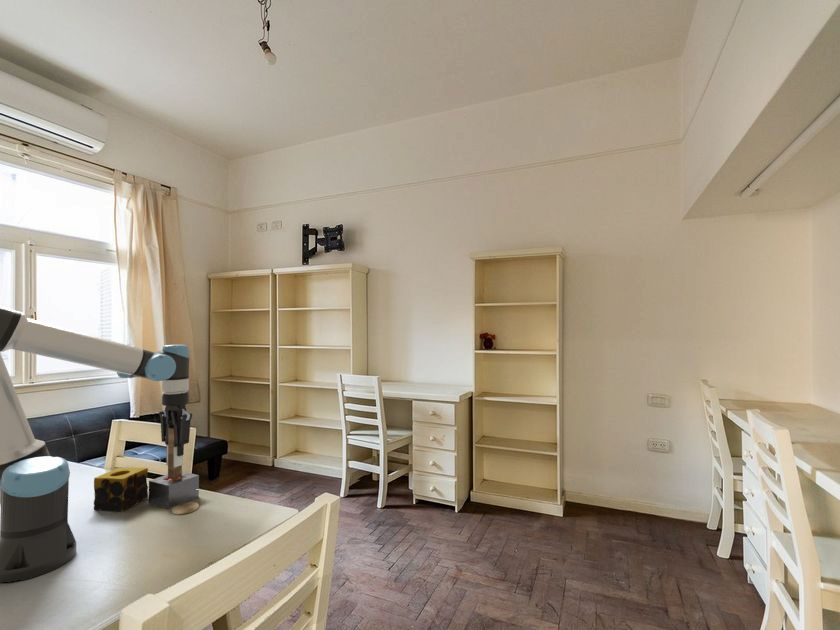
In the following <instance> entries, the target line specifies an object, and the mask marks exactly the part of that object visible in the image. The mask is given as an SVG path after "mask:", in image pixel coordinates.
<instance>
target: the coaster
mask: <svg viewBox="0 0 840 630" xmlns="http://www.w3.org/2000/svg"><path fill="white" fill-rule="evenodd" d="M198 509H199V503H198V502H185V503H182V504H180V505H177V506H175V507H172V508H171V512H172V514H173V515H177V516H179V515H186V514H190V513H193V512H195V511H197V510H198Z"/></svg>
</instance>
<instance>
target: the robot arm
mask: <svg viewBox="0 0 840 630" xmlns="http://www.w3.org/2000/svg"><path fill="white" fill-rule="evenodd" d="M10 350H14V351H19V352H23V353H28V354H32V355H38V356H43V357H46V358H51V359H56V360H61V361H65V362H68V363H69V362H70V363H74V364H79V365H83V366H88V367H92V368H97V369H101V370H106V371H110V372H115V373H116V374H117V377H119V378H120V379H132V378H140V379H146V380H149V381H154V382H161V392H162V394H161V405H162V406H163V407H165V408H164V410H161V411H159V412H158V416H159V418H160V429H161V430H160V434H161V435H160V436H161V442H162V443H164V444H165V445H166V450H165V452H166V466H167V467H168V428H171V427H174V429H175V442H176V445H173V446H174V467H178V466H181V465H182V466H183V465H184V453H185V449H184V448H185V445H187V444H189V443H190V433H191V420H192V417H193V413H189V412H188V411H187V408H186V405H187V404H188V403H189V402H190V392H189V390H190V379H189V378H190V359H191V358H190V349H189V346H188V345H186V344H165V345H163V346H162V349H161V350H160V351H152V350H151V351H150V350H147V349H142V348H140V347H135V346H131V345H128V344H124V343H121V342H116V341H115V340H114V341H113V340H110V339H105V338H101V337H99V336H94V335H91V334H87V333H83V332H79V331H77V330H73V329H69V328H65V327H61V326H57V325H54V324H49V323H46V322H42V321H38V320H35V319H31V318H28V317H27V316H26V314H25V313H24V312H22V311H20V310H15V309H12V308H9V307H5V306H3V305H0V584H4V583H3V582H8V583H12V582H11V581H15V582H18V581H17V580H20V581H23V579H25V580H29V579H33V578H36V577H38V576H41V575H43V574H44V575H45V574H46V573H47V574H48V573H49V572H52V571H54V570H56V569H58V568H60V567H61V566H64V565H65V564H66V563H68V562H69V561H71V560H72V559H73V558H74V557H75V555H76V554H77V540H76V538H75V536H74V533H73V531H72V528H71V527H70V524H69V521H68V520H69V519H68V517H69V487H70V486H69V485H70V483H69V482H70V481H69V480H70V476H71V474H70V473H71V472H70V467H69V462H68V460H66V459H65V458H63V457H60V456H51V454H50V452H49V449H48V447H47V444H46V442H45V441H44V440H41V439H37V438H35V436H34V433H33V431H32V428H31V426H30V423H29V421H28V418H27V416H26V413H25V411H24V408H23V406H22V403H21V401H20V399H19V396H18V393H17V391H16V388H15V387H14V383H13V381H12V378H11V376H10V374H9V371H8V368H7V366H6V364H5V362H4V358H3V356H2V354H1V352H6V351H10ZM28 578H29V579H28Z"/></svg>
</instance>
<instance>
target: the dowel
mask: <svg viewBox="0 0 840 630" xmlns="http://www.w3.org/2000/svg"><path fill="white" fill-rule="evenodd" d="M173 445H176V442H175V429H174V427H171V428H168V466H167V475H168V478H169V479H173V480H174V479H177V478H179V477H182V471H183V465H181V466H178V467H174V446H173Z"/></svg>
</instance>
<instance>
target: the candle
mask: <svg viewBox="0 0 840 630" xmlns="http://www.w3.org/2000/svg"><path fill="white" fill-rule="evenodd" d="M148 471H149V470H148V467H129V466H128V467H127V466H125V467H118V468H115V469H112V470H110V471H108V472H105V473H103V474H100V475H98V476H96V477H94V479H93V490H94V500H93V510H95V511H106V512H108V511H110V512H115V511H116V512H124V511H127V510H129V509H130V508H132V507H134V506H136V505H138V504H139V503H141V502H142V501H145V500H147V499H149V485H148V482H147V480H148V479H147V477H148Z"/></svg>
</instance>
